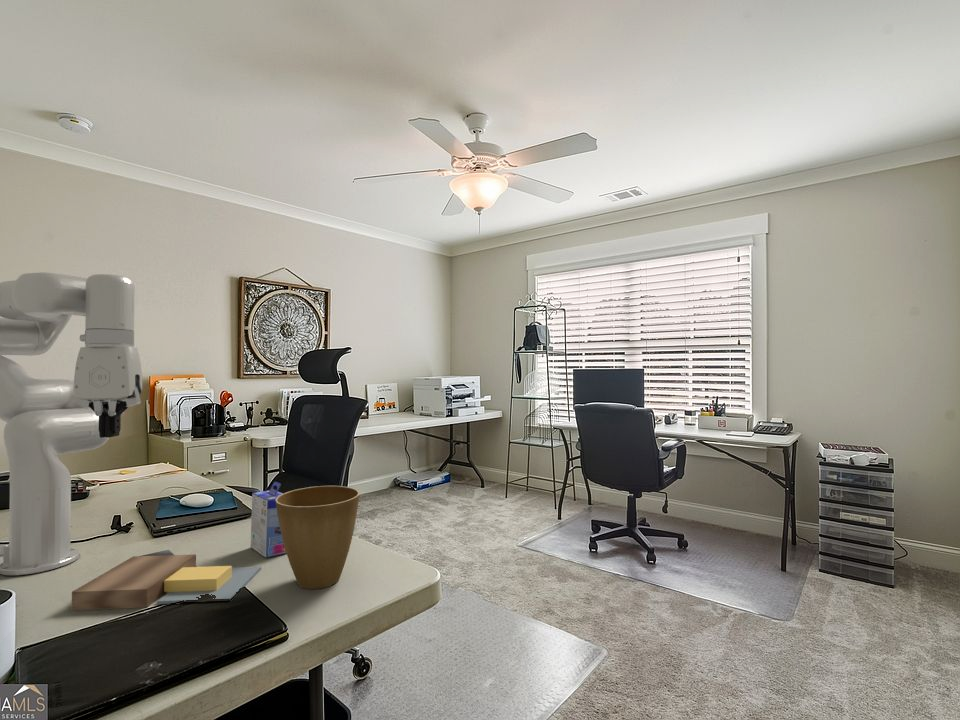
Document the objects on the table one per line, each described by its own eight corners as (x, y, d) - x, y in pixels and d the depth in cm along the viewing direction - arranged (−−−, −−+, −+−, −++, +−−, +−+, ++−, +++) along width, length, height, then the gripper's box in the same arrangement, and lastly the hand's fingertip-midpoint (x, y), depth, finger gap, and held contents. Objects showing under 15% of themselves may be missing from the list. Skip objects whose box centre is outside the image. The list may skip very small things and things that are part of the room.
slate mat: (156, 604, 84) (157, 601, 84) (198, 571, 98) (198, 568, 98) (230, 601, 85) (230, 598, 85) (261, 569, 99) (261, 566, 99)
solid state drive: (140, 574, 98) (140, 571, 98) (130, 561, 105) (130, 557, 105) (181, 564, 103) (181, 561, 103) (168, 552, 110) (168, 549, 110)
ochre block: (164, 592, 88) (164, 580, 88) (182, 578, 94) (182, 567, 94) (216, 590, 88) (216, 578, 88) (231, 576, 94) (231, 565, 94)
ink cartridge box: (292, 552, 108) (292, 485, 108) (266, 559, 104) (266, 489, 105) (275, 541, 115) (274, 478, 116) (249, 547, 111) (249, 482, 112)
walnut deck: (71, 610, 82) (71, 591, 82) (133, 571, 98) (133, 556, 98) (147, 607, 83) (147, 589, 83) (196, 569, 99) (196, 554, 99)
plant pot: (265, 579, 94) (265, 493, 94) (341, 560, 103) (341, 482, 103) (289, 607, 82) (289, 510, 83) (373, 583, 91) (372, 495, 92)
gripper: (53, 339, 91) (52, 440, 91) (138, 338, 92) (138, 438, 92) (83, 341, 99) (82, 435, 98) (162, 341, 100) (161, 433, 99)
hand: (109, 436), depth 95 cm, fingers closed
